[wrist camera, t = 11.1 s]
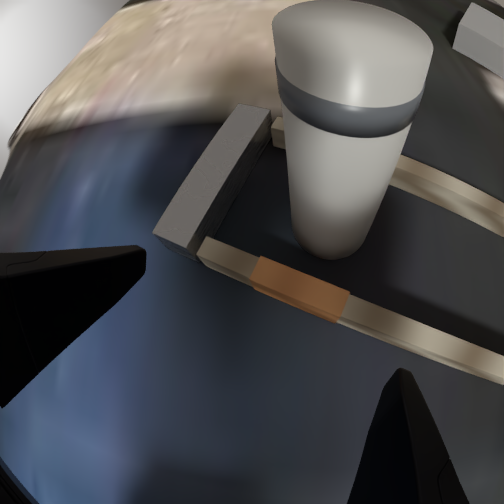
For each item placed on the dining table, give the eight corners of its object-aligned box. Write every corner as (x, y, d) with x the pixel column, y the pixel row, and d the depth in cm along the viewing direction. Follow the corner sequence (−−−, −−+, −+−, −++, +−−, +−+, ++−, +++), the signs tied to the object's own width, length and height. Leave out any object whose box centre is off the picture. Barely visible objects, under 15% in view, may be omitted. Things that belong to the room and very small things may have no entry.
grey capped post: (323, 276, 17) (359, 89, 5) (275, 216, 19) (238, 20, 7) (383, 231, 18) (461, 50, 6) (334, 178, 20) (349, -8, 8)
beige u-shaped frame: (525, 235, 16) (542, 220, 13) (502, 386, 13) (524, 385, 10) (244, 125, 23) (239, 102, 20) (167, 250, 19) (151, 234, 17)
